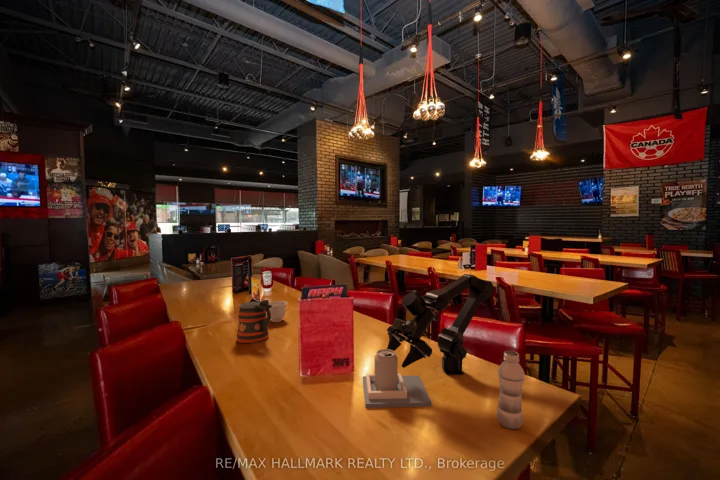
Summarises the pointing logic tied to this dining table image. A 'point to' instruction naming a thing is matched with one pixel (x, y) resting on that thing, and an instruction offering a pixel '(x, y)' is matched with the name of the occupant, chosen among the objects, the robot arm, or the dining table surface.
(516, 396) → the plastic bottle
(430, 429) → the dining table surface
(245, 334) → the beer stein
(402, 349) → the dining table surface
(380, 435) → the dining table surface
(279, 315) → the teacup
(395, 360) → the can
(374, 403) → the base board
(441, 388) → the dining table surface
